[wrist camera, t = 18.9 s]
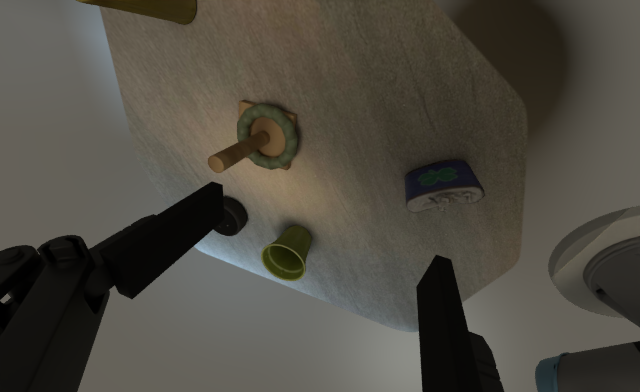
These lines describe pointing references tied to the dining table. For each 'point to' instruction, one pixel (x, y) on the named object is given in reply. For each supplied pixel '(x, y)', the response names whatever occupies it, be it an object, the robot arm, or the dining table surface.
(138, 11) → the vase
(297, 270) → the plant pot
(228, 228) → the smart speaker
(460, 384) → the robot arm
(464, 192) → the flask
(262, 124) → the post
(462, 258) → the dining table surface
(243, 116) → the ring
